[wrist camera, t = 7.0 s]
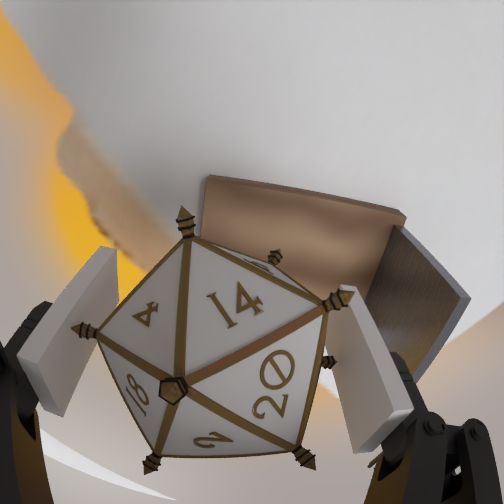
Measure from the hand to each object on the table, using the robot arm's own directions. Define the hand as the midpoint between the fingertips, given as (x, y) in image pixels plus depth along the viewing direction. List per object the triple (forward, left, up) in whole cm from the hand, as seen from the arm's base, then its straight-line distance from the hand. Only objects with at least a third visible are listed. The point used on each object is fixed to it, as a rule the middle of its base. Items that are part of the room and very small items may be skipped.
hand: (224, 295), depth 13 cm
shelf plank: (+6, +7, -16) cm, 19 cm away
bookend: (+6, +16, -14) cm, 22 cm away
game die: (0, 0, -1) cm, 1 cm away
